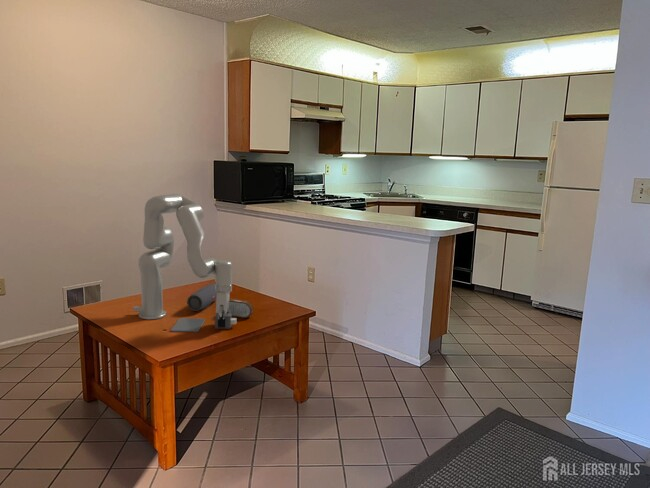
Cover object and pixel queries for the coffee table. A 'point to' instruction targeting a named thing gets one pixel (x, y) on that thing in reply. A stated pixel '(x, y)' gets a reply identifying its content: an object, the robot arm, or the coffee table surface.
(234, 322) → the block
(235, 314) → the tin
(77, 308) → the coffee table surface
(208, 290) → the bluetooth speaker
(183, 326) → the slate board
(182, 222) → the robot arm
